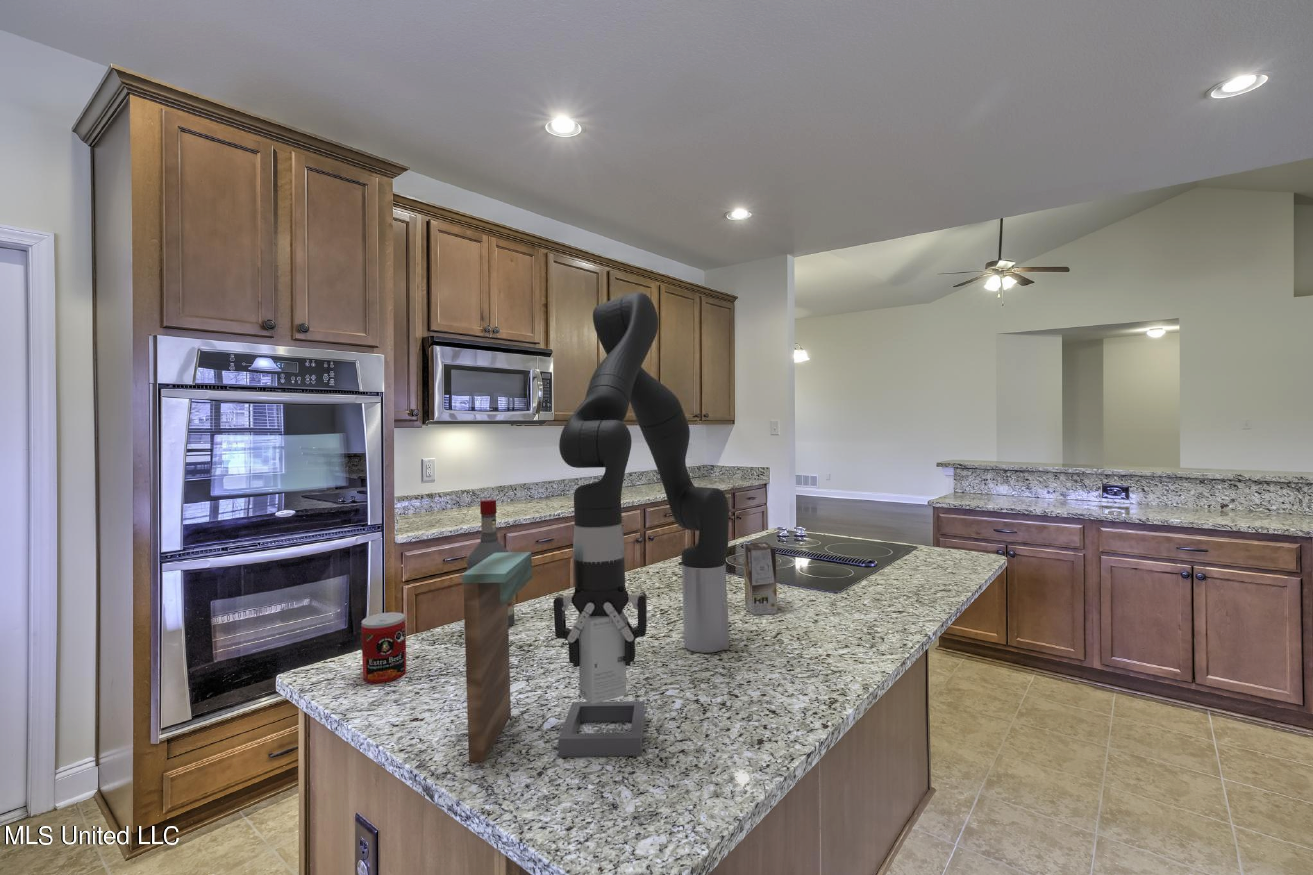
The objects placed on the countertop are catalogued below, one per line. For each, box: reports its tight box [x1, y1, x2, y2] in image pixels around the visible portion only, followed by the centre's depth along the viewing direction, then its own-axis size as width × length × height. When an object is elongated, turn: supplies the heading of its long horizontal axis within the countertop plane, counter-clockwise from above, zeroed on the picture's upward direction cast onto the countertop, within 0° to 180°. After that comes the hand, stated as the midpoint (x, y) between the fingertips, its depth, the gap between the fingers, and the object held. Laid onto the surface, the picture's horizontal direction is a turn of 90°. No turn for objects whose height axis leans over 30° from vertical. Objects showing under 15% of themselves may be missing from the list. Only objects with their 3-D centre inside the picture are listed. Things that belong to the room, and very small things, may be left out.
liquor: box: [466, 499, 516, 628], centre depth 142 cm, size 9×9×30 cm
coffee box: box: [742, 541, 778, 616], centre depth 150 cm, size 9×6×16 cm
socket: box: [557, 700, 646, 758], centre depth 89 cm, size 12×12×2 cm
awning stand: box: [461, 551, 533, 764], centre depth 90 cm, size 6×15×26 cm, turn 178°
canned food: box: [360, 611, 408, 684], centre depth 115 cm, size 8×8×11 cm
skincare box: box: [577, 612, 627, 704], centre depth 89 cm, size 6×4×12 cm
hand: (602, 664), depth 89 cm, fingers closed on skincare box, 7 cm apart
